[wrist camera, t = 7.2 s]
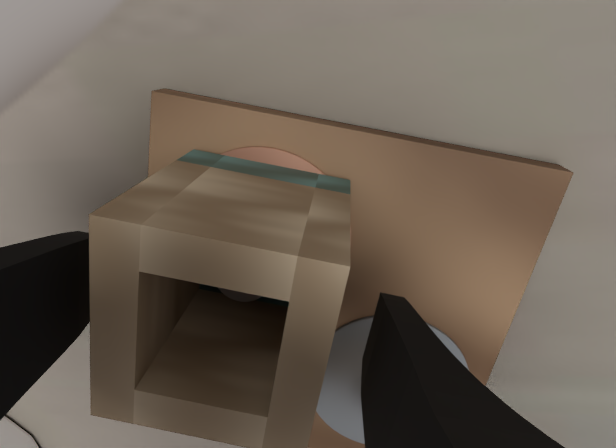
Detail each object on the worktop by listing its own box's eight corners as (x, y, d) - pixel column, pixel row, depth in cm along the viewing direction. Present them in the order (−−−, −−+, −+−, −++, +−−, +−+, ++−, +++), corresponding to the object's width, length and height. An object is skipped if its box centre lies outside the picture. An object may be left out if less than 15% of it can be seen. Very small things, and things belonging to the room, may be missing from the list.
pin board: (442, 455, 19) (465, 553, 15) (148, 394, 19) (100, 476, 16) (558, 164, 14) (632, 204, 11) (164, 88, 14) (100, 101, 11)
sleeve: (350, 180, 14) (350, 266, 8) (320, 314, 16) (304, 459, 10) (193, 149, 14) (89, 214, 8) (182, 286, 16) (90, 414, 10)
